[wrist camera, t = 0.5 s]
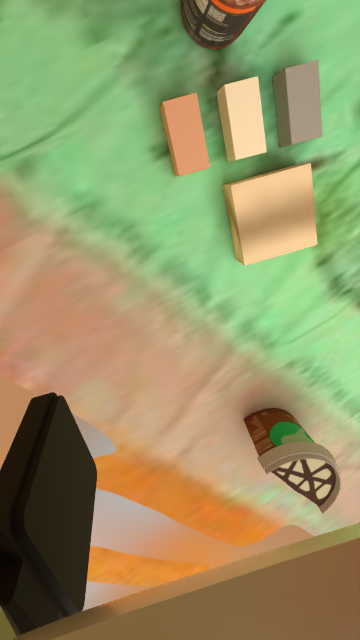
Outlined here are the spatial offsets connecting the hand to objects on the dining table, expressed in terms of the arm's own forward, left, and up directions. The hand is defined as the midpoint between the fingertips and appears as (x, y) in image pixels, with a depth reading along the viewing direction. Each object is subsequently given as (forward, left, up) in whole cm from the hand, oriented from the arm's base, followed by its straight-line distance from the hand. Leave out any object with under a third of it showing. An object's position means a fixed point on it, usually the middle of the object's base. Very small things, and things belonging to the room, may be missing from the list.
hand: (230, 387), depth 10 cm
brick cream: (-8, +11, -29) cm, 31 cm away
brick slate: (-8, +16, -28) cm, 34 cm away
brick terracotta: (-8, +5, -29) cm, 30 cm away
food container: (+30, +10, -29) cm, 42 cm away
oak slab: (+1, +12, -28) cm, 31 cm away
